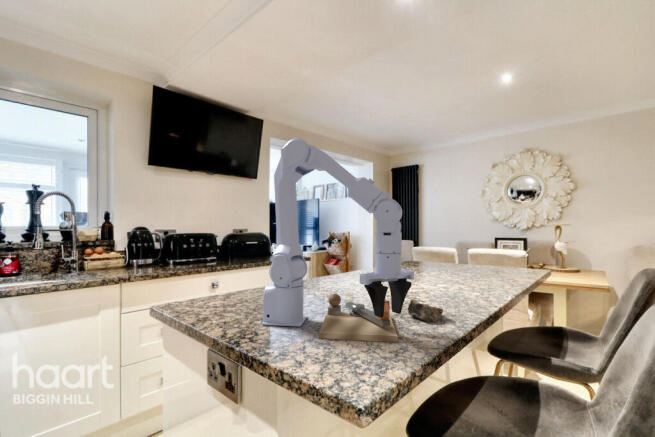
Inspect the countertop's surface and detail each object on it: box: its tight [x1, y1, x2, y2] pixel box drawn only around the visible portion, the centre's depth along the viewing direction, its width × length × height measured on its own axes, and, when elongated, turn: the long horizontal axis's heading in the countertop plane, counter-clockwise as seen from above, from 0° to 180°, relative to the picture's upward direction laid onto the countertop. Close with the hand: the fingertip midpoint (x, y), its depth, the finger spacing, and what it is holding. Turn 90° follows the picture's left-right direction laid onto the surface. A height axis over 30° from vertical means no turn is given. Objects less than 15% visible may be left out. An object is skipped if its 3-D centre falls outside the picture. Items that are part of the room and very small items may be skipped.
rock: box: [407, 299, 444, 323], centre depth 76 cm, size 9×6×10 cm
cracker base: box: [318, 293, 399, 343], centre depth 68 cm, size 16×16×6 cm
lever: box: [345, 299, 390, 327], centre depth 70 cm, size 17×3×5 cm, turn 25°
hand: (387, 314), depth 64 cm, fingers open, 5 cm apart
